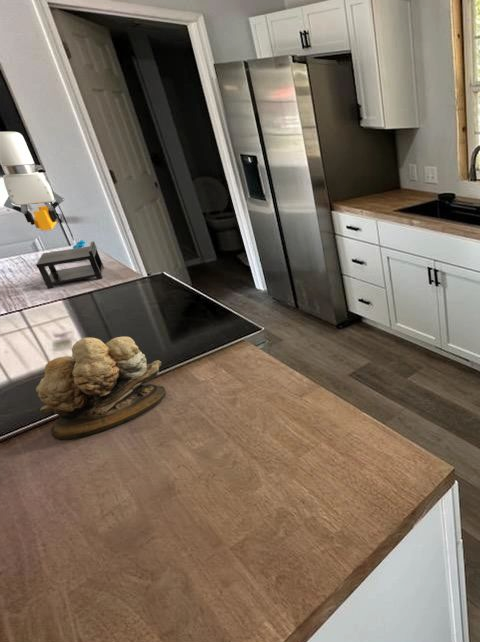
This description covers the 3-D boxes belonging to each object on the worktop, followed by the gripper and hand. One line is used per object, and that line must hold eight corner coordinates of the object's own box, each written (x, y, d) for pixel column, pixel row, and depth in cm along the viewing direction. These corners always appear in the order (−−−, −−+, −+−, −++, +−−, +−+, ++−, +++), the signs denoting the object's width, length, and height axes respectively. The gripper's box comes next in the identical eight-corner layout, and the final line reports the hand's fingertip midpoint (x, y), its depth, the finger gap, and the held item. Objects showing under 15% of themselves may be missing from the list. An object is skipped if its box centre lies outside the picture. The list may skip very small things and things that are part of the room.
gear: (63, 255, 170) (80, 235, 171) (81, 261, 174) (97, 242, 176) (64, 265, 163) (82, 244, 164) (83, 271, 168) (100, 251, 169)
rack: (47, 289, 141) (33, 260, 137) (53, 276, 152) (40, 249, 148) (102, 278, 150) (91, 251, 146) (104, 267, 161) (93, 241, 157)
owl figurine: (166, 379, 92) (140, 311, 86) (177, 402, 85) (150, 330, 79) (51, 421, 80) (11, 345, 74) (52, 452, 73) (8, 371, 66)
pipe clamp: (39, 224, 149) (31, 207, 146) (56, 222, 151) (49, 205, 149) (33, 231, 140) (25, 213, 138) (52, 229, 143) (44, 211, 140)
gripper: (57, 166, 146) (77, 216, 153) (-16, 171, 136) (10, 225, 143) (55, 168, 141) (76, 220, 148) (-21, 174, 131) (6, 229, 137)
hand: (43, 222), depth 145 cm, fingers closed on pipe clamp, 4 cm apart
